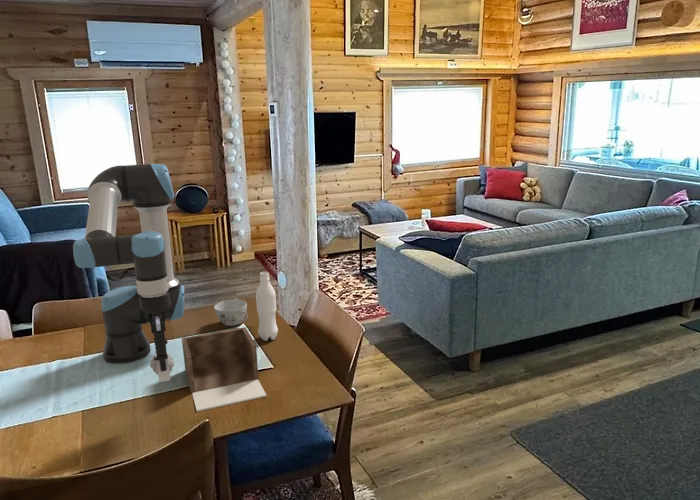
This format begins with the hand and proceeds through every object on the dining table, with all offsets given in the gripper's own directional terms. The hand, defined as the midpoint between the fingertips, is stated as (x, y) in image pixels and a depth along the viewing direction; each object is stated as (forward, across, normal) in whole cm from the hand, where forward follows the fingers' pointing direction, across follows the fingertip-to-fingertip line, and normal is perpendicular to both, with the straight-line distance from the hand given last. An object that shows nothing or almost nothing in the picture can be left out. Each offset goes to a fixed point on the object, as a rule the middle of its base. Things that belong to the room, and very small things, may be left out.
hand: (163, 374), depth 142 cm
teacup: (+13, +59, -29) cm, 67 cm away
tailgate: (+11, +8, -17) cm, 22 cm away
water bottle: (+13, +40, -38) cm, 57 cm away
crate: (+13, +16, -17) cm, 26 cm away
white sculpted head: (+1, 0, 0) cm, 1 cm away
